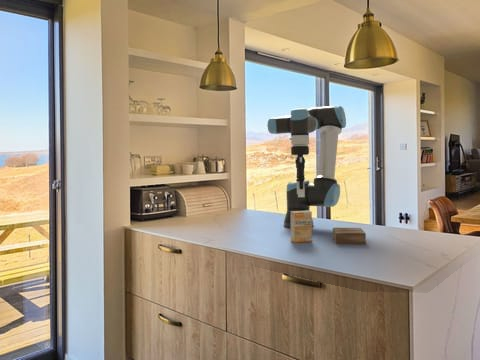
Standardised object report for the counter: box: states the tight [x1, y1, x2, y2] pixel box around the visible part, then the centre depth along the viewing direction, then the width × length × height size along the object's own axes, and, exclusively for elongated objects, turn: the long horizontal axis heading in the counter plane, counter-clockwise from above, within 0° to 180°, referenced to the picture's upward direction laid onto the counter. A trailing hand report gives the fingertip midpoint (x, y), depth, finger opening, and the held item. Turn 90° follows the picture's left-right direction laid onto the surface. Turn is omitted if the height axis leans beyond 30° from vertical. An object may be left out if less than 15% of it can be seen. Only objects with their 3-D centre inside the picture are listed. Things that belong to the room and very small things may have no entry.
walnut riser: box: [332, 227, 367, 246], centre depth 173 cm, size 12×12×5 cm
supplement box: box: [290, 210, 313, 243], centre depth 174 cm, size 8×5×13 cm, turn 101°
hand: (300, 195), depth 173 cm, fingers open, 13 cm apart
